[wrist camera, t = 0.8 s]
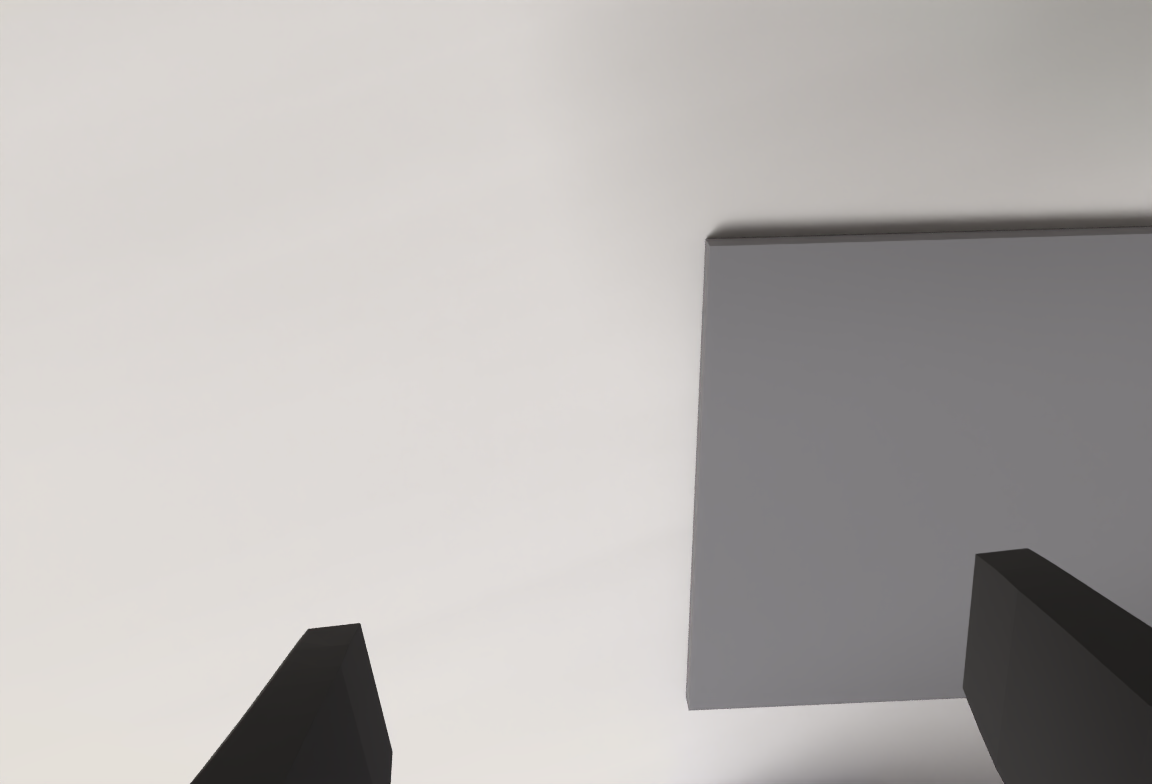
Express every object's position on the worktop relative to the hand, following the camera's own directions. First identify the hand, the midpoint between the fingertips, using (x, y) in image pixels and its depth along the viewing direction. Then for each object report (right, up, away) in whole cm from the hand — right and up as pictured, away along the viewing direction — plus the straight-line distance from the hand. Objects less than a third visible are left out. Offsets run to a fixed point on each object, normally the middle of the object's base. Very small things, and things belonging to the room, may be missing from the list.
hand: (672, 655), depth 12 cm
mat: (+8, +1, +11) cm, 13 cm away
